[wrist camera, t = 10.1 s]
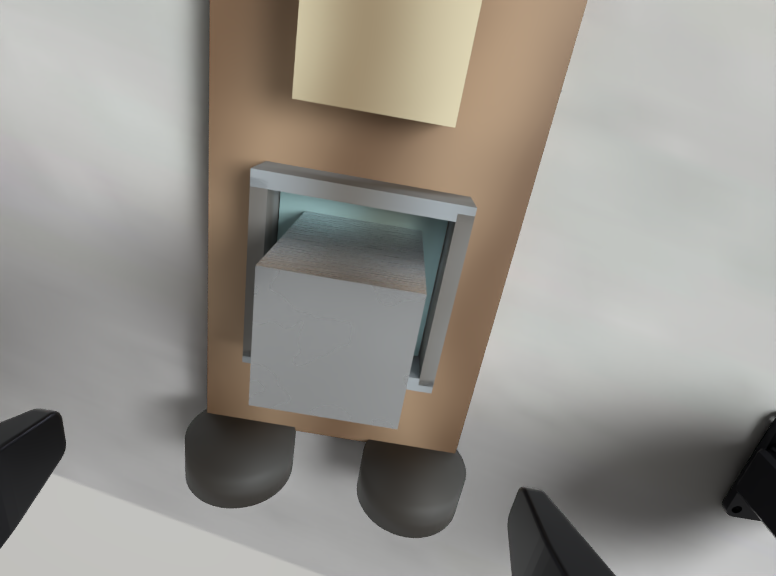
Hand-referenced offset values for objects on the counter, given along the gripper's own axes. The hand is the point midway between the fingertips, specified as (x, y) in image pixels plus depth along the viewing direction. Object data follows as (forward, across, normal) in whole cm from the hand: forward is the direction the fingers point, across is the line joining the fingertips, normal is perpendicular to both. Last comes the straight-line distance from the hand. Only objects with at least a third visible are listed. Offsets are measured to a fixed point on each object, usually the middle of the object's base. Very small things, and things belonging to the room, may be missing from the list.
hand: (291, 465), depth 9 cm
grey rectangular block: (+10, 0, 0) cm, 10 cm away
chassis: (+12, 0, -2) cm, 12 cm away
